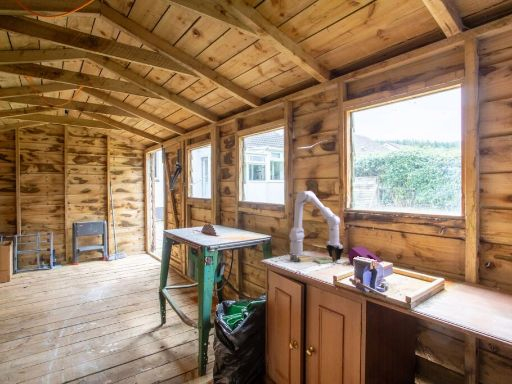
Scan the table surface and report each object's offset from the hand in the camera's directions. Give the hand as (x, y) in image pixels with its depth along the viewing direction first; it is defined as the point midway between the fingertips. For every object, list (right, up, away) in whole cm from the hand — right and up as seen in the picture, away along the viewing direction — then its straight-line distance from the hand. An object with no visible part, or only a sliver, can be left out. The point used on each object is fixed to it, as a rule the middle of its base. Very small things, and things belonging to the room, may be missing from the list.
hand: (334, 258), depth 180 cm
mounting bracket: (+15, -2, -13) cm, 20 cm away
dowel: (0, -2, 0) cm, 2 cm away
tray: (-8, -2, -2) cm, 8 cm away
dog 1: (-25, -2, +4) cm, 26 cm away
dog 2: (-24, -2, -1) cm, 24 cm away
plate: (-19, -2, +3) cm, 19 cm away
